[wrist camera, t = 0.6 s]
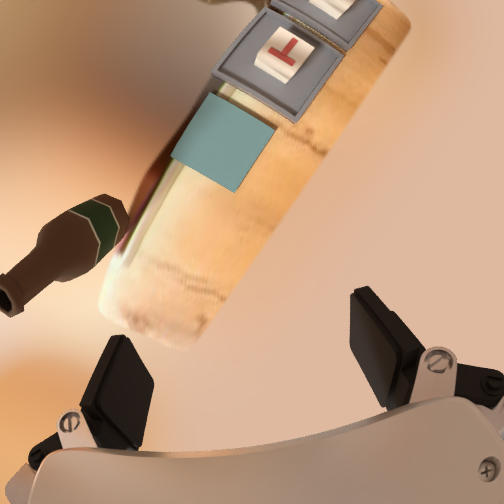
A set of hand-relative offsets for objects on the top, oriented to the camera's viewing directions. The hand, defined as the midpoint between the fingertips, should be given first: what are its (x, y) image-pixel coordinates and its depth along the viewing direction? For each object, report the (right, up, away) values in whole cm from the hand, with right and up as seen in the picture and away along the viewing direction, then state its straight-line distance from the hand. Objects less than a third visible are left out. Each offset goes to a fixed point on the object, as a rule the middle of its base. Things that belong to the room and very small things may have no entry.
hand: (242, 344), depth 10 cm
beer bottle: (-21, +9, +26) cm, 34 cm away
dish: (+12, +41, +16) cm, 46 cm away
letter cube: (+4, +29, +19) cm, 35 cm away
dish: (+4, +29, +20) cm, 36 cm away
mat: (-4, +18, +23) cm, 30 cm away
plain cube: (+12, +41, +15) cm, 45 cm away
